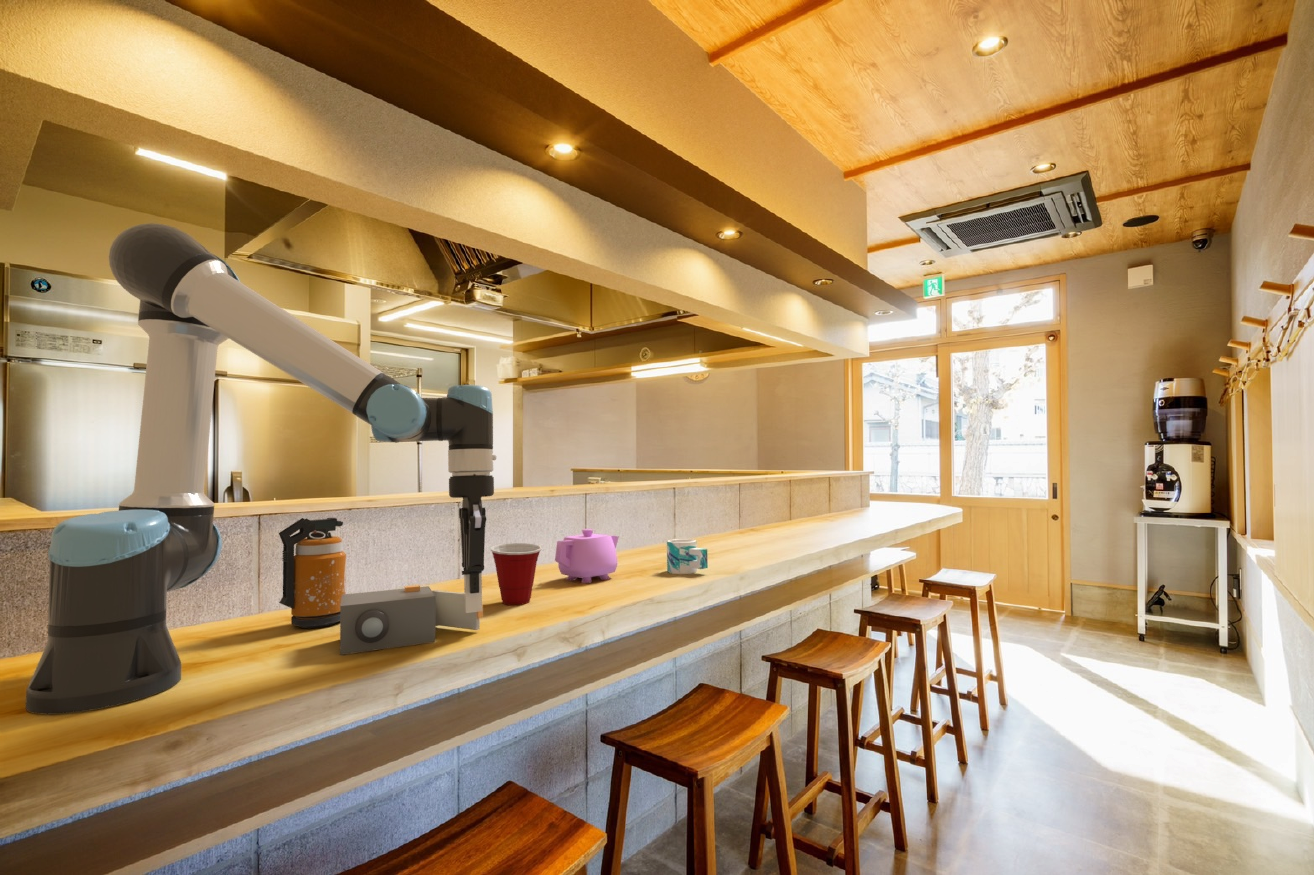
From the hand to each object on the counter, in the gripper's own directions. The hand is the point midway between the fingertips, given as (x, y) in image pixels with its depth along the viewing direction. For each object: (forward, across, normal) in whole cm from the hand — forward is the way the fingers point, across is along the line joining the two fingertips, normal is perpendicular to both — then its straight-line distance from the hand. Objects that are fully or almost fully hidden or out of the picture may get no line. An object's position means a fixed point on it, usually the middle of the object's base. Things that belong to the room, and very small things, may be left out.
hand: (473, 611), depth 105 cm
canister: (+4, +23, +26) cm, 34 cm away
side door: (+4, +5, +2) cm, 7 cm away
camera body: (+4, +4, +13) cm, 14 cm away
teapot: (+4, +40, -35) cm, 54 cm away
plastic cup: (+4, +22, -12) cm, 26 cm away
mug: (+4, +35, -61) cm, 71 cm away
